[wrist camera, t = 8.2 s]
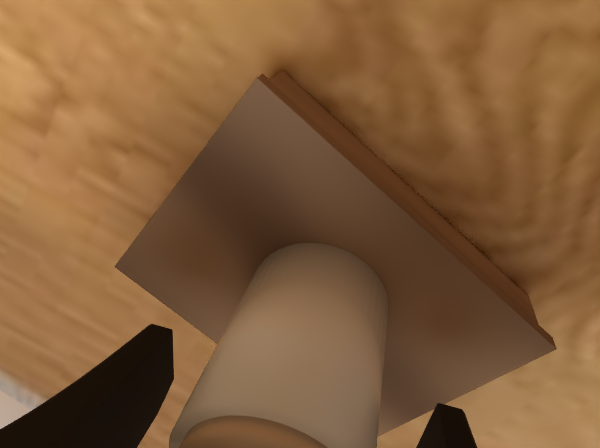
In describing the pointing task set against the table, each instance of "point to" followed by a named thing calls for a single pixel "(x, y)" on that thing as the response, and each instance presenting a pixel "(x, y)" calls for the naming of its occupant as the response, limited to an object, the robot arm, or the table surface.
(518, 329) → the wooden brick
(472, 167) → the table surface
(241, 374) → the stoneware jar
